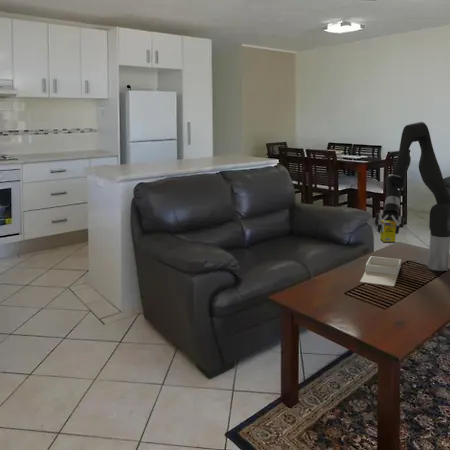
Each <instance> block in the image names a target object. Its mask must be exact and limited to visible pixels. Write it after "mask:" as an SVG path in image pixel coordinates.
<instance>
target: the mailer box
mask: <svg viewBox="0 0 450 450" xmlns="http://www.w3.org/2000/svg"><path fill="white" fill-rule="evenodd" d="M401 265H402V259H399V258H392V257H382V256H373V255H371V256H370V257H369V258H368V260H367V261H366V264H365V268H364V269H365V270H364V273H363V275H362V277H361V278H360V280H359V282H360V283H361V284H369V285H370V284H371V285H378V286H385V287H386V286H387V287H393V288H394V287H395V285H396V282H397V279H398V275H399V273H400V269H401Z"/></svg>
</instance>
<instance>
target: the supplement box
mask: <svg viewBox="0 0 450 450" xmlns="http://www.w3.org/2000/svg"><path fill="white" fill-rule="evenodd" d="M380 221H381V231H380V238H379V239H380V242H382V243H383V244H396V234H395V231H396V222H394V221H392V220H382V219H380Z"/></svg>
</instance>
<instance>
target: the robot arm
mask: <svg viewBox="0 0 450 450" xmlns="http://www.w3.org/2000/svg"><path fill="white" fill-rule="evenodd" d="M400 136H401V138H400V143H399V150H398V153H397V158H396V161H395V163H394V166H393V170H392V171H393V173H394V174H388V175H387V176H386V178H385V187H386V197H385V202H384V207H383V212H382V214H379V213H376V215H375V220H374V225H375V226H376V227H377V232H378V233H379V234H381V220H392V221H394V222H396V231H395V235H397V234H399V232H400V229H401V228H404V225H405V216H404V215H399V213H400V207H401V206H400V205H401V204H400V203H401V197H402V196H401V195H402V193H401V191H400V190H403V189H404V188H405V187H406V184H407V173H408V170H409V167H410V166H411V162H412V161H411V160H412V159H411V155H410V147H411V146H412V144H413V143H415V142H418V145H419V148H420V157H419V161H418V171H419V174H420V177H421V180H422V182H423V183H424V185H425V186H426V188H428V189H429V191H430V192H431V193H432V196H433V197H434V199H435V202H436V203H435V204H433V205H432V206H431V207H430V210H429V223H428V224H429V225H428V227H429V230H430V235H429V245H428V246H429V247H428V256H427V257H428V259H427V268H428V269H430V270H432V271H435V272H436V271H437V272H444V271H445V272H448V271H449V262H450V261H449V260H450V259H449V258H450V228H448V221H450V193H449V191H448V189H447V184H446V183H445V179H444V177H443V173H442V171H441V168H440V164H439V162H438V159H437V157H436V154H435V150H434V147H433V143H432V139H431V135H430V130H429V127H428V126H427V124H426V122H423V121H419V122H413V123H408V124H406V125H405V126H404V127H403V129H402V133H401V135H400ZM379 220H380V221H379ZM398 220H399V221H400V223H399V222H398Z"/></svg>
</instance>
